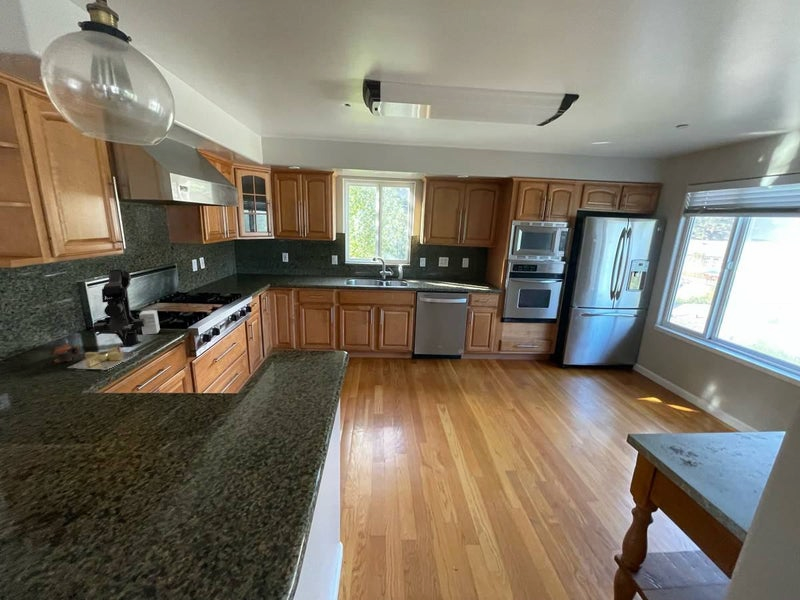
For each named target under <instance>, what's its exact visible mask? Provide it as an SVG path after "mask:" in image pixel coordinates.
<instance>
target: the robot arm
mask: <svg viewBox="0 0 800 600" xmlns="http://www.w3.org/2000/svg"><path fill="white" fill-rule="evenodd" d="M107 276H108V282H107V283H105V284H104V285H103V288H101V297H102V303H106V304H107V305H106V307H104V314H105V315H106V316H108V317H109V322H108V323H107V322H99V323H98V322H97V323H96V324H95V325H94V326H93V327H92V330H93V333H100V332H104V330H106V329H110V330H109V332H110V333H114V334H116V335H117V337H118V338H119V340H120V341H121V342H122V344H120V347H134V346H136V345H138V344H139V343H142V341H141V340H139V338H138V334H139V333H141V327H143V326H144V325H145V319H140V318H136V319H135V318H134V317H133V316H132V314H131V307H130V299H129V293H128V289H129V287H130V286H131V281H132V277H131V273H130V272H129V271H126V270H124V269H123V268H115V269H114V268H113V269H109V272H108V275H107Z"/></svg>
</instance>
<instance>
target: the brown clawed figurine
mask: <svg viewBox="0 0 800 600" xmlns="http://www.w3.org/2000/svg"><path fill="white" fill-rule="evenodd" d="M81 351H82V349H81V347H80V346H72V345H71V344H64V345H59V346H55V347H52V348H50V352H49V354H48V356H49V357H51V356H57V358H55V359H54V360H53V362H54V363H55V362H61V363H63V362H62V361H67V362H70V361H69V360H72V361H73V358H75V359H76V357H77V356H78V355H80V354H81Z"/></svg>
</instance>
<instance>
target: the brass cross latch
mask: <svg viewBox="0 0 800 600" xmlns="http://www.w3.org/2000/svg"><path fill="white" fill-rule="evenodd" d="M120 352H121V348H120V346H113V347H112V348H109V349H107V350H103V351H97V352H95V351H87V352H85V353H84V357H85V358H84V359H87V360H85V361H86V365H87V367H91V366H93V365H95V364H97V363H99V362H102V361H107V360H121V359H123V358H122V353H120Z"/></svg>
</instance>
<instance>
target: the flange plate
mask: <svg viewBox="0 0 800 600" xmlns="http://www.w3.org/2000/svg"><path fill="white" fill-rule="evenodd" d="M120 353H122V358H123V359H121V360H107V361H102V362H99V363H97V364H95V365H93V366H91V367H87V365H86V361H85V360H87V359H85V358H83V359H82V360H80V361H79V362H78V361H77V363H74V364H72V365H70V366H68V367H66V369H67V368H77V369H109V368H112V367H114V366H116V365H118V364H120V363H122V362H124V363H126V362H128V360H131V359H133V358H135V357H136V356H138V355H139V352H137V351H136V352H135V351H133V352H131V351H120ZM122 364H123V363H122ZM120 365H121V364H120ZM118 366H119V365H118ZM116 367H117V366H116ZM114 368H115V367H114ZM112 369H113V368H112Z"/></svg>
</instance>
